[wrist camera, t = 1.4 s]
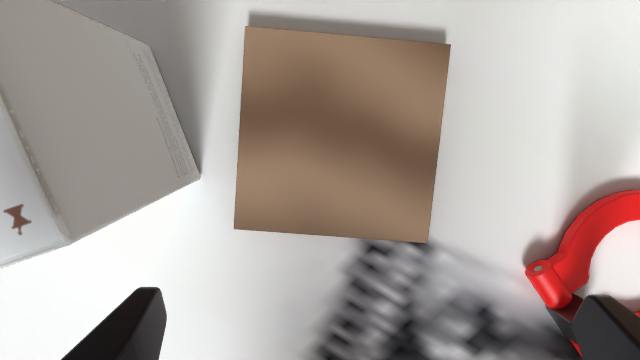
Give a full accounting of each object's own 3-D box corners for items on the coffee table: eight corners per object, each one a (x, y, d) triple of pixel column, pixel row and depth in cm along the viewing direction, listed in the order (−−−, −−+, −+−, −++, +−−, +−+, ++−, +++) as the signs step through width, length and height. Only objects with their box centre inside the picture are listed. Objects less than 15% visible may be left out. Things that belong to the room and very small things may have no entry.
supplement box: (151, 40, 22) (-62, -70, 9) (204, 180, 23) (76, 253, 10) (13, 88, 22) (-386, 44, 9) (71, 225, 23) (-217, 352, 10)
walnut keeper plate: (423, 238, 23) (427, 243, 23) (236, 225, 23) (233, 229, 22) (445, 47, 22) (450, 44, 21) (247, 29, 22) (245, 25, 21)
